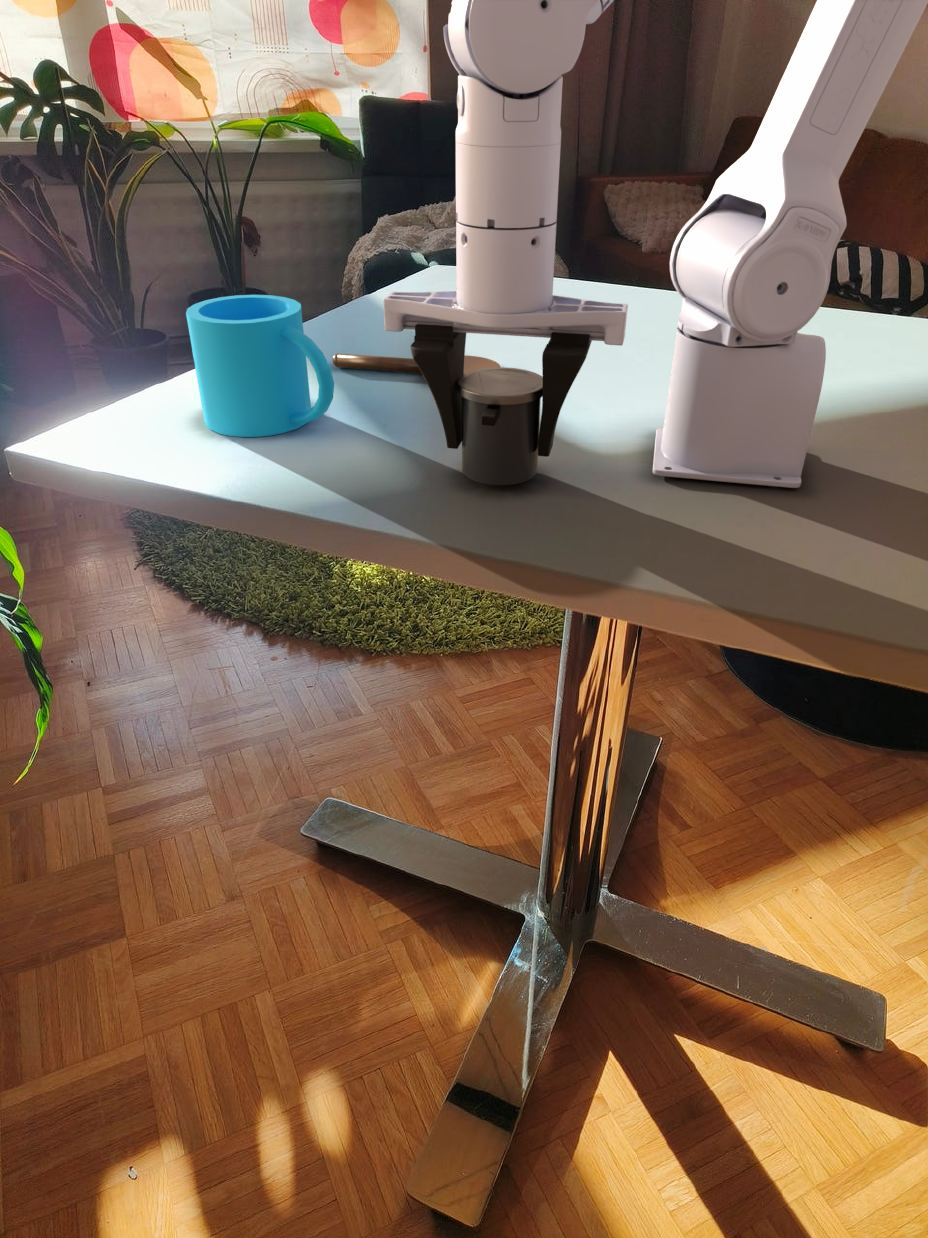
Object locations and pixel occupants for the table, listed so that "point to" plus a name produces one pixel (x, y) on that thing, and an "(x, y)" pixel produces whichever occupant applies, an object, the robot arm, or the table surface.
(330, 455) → the table surface
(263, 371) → the mug
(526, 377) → the pot
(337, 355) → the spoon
